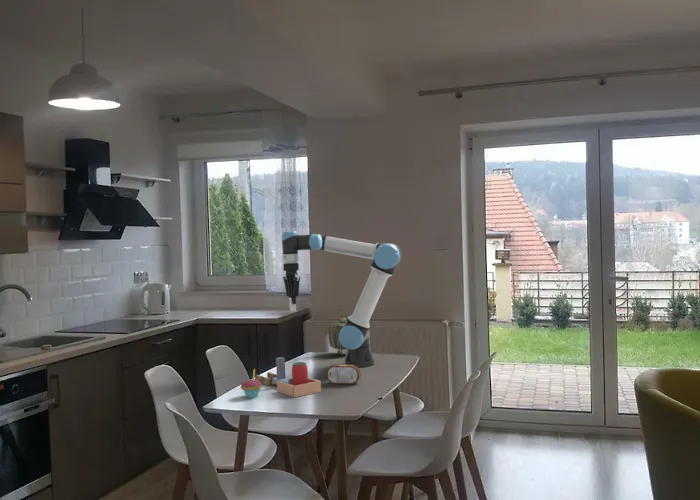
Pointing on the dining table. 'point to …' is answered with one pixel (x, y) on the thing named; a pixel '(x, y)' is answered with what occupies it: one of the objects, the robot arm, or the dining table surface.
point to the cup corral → (299, 388)
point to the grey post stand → (281, 372)
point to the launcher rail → (266, 379)
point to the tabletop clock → (337, 332)
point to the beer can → (299, 373)
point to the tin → (343, 374)
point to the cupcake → (251, 387)
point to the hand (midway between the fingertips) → (293, 310)
